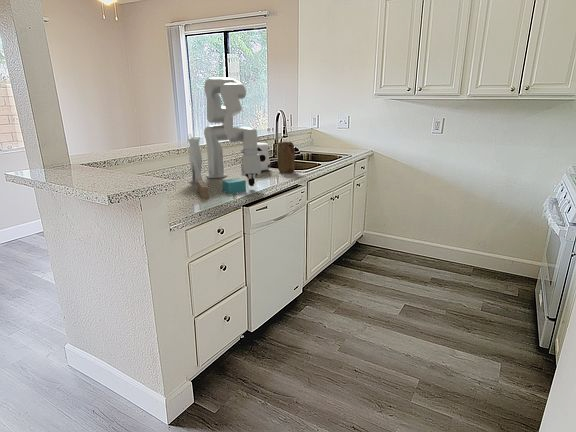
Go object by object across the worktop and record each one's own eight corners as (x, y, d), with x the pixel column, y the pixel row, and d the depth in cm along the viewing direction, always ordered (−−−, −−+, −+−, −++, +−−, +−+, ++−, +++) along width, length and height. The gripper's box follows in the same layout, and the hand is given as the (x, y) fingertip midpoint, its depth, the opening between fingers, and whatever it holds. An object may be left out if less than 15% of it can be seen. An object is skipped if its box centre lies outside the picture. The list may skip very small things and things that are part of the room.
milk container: (271, 168, 265) (271, 142, 259) (268, 173, 249) (267, 146, 243) (247, 168, 266) (246, 142, 261) (242, 173, 250) (241, 145, 244)
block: (276, 172, 251) (276, 142, 245) (281, 170, 258) (280, 140, 252) (292, 173, 248) (292, 142, 241) (296, 171, 254) (296, 141, 248)
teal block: (222, 191, 207) (222, 180, 205) (239, 188, 212) (238, 177, 210) (229, 194, 200) (228, 183, 198) (246, 191, 206) (245, 180, 204)
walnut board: (196, 189, 209) (196, 179, 207) (202, 189, 210) (201, 178, 208) (202, 198, 191) (201, 187, 189) (208, 198, 192) (208, 186, 190)
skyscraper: (187, 182, 226) (183, 134, 217) (199, 180, 231) (196, 133, 222) (193, 184, 220) (189, 135, 211) (206, 182, 225) (202, 134, 216)
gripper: (238, 154, 197) (240, 188, 203) (265, 152, 202) (266, 185, 208) (235, 151, 204) (236, 185, 209) (261, 150, 209) (262, 182, 215)
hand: (251, 185), depth 209 cm, fingers closed
